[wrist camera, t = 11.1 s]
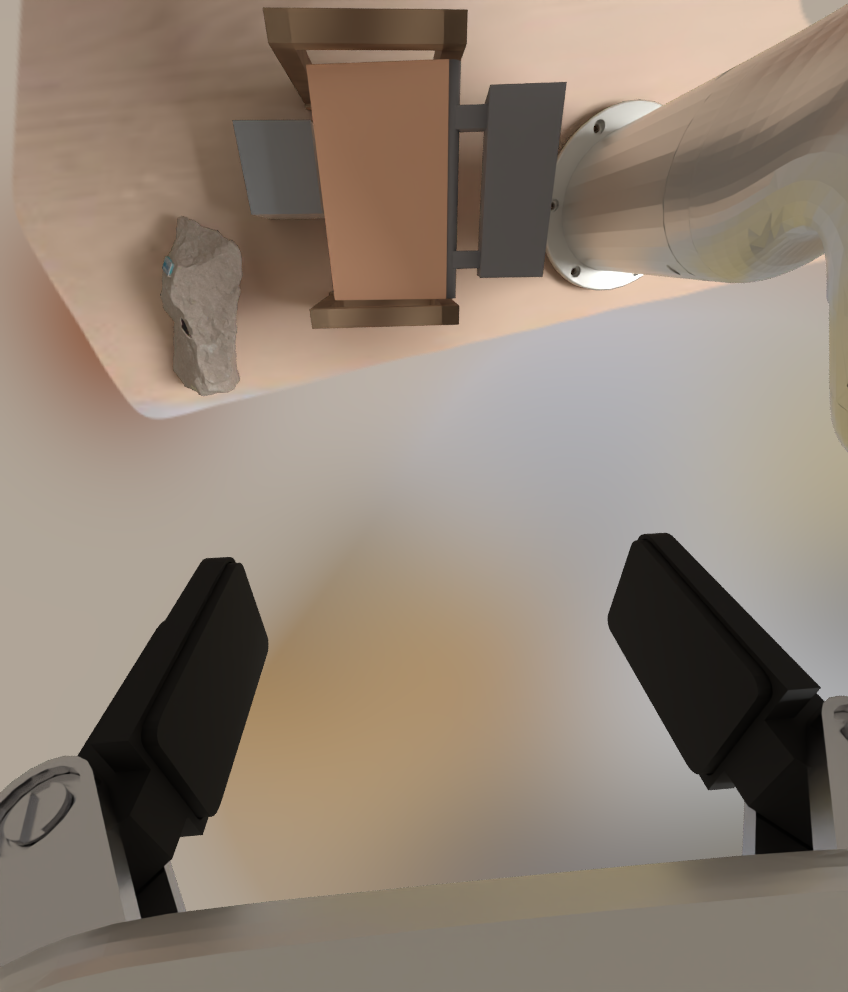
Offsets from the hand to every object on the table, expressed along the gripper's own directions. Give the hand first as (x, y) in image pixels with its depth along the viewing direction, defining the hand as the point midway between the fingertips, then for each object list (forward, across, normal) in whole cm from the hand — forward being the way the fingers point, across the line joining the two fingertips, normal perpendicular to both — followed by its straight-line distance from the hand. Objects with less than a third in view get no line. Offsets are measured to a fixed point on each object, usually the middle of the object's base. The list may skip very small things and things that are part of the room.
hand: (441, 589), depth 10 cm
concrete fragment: (+34, +17, -2) cm, 38 cm away
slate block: (+31, +6, -12) cm, 34 cm away
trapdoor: (+25, -2, -10) cm, 27 cm away
